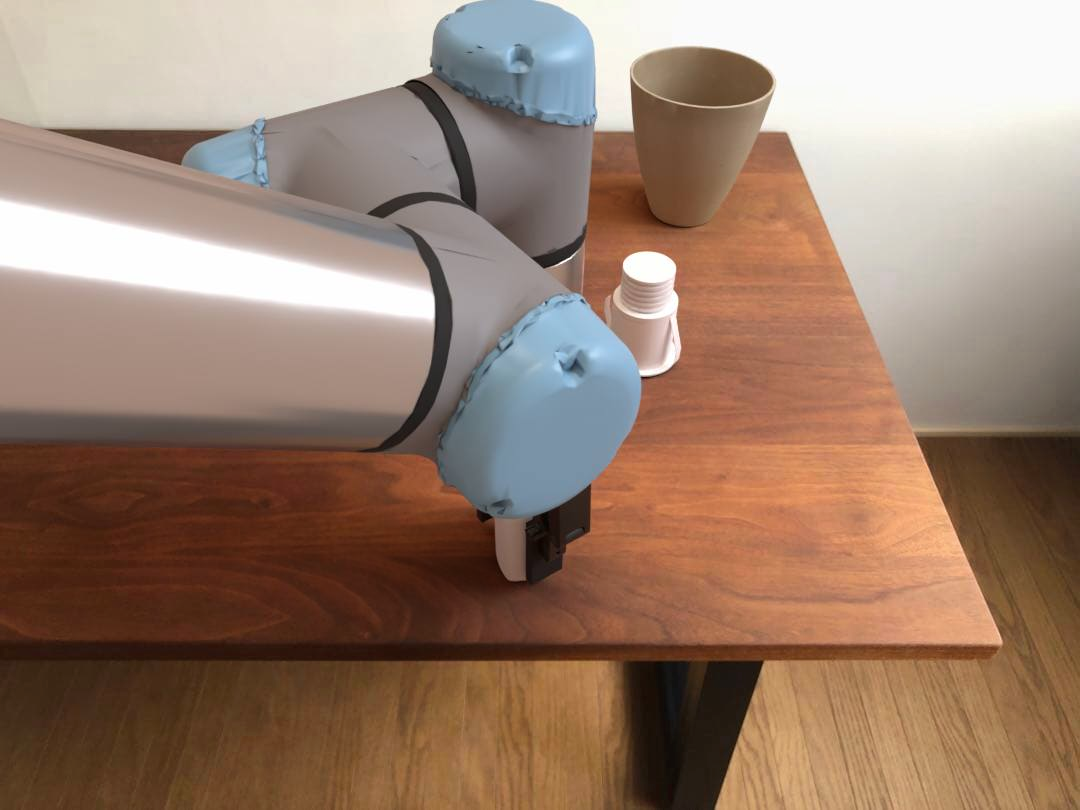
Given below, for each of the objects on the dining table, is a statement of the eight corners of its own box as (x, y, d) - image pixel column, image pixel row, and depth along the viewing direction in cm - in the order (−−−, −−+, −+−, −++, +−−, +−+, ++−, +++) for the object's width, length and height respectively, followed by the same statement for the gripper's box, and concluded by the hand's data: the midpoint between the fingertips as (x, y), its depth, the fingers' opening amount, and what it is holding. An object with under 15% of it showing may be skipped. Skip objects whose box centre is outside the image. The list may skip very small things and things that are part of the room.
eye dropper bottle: (559, 534, 69) (563, 426, 61) (530, 591, 65) (531, 484, 57) (507, 517, 70) (505, 408, 62) (476, 571, 66) (469, 464, 58)
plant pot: (757, 248, 97) (788, 109, 86) (621, 244, 97) (633, 105, 86) (739, 177, 108) (764, 45, 97) (615, 174, 108) (626, 42, 97)
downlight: (583, 355, 84) (588, 268, 77) (624, 318, 88) (632, 232, 81) (655, 392, 81) (667, 304, 74) (694, 351, 85) (709, 265, 78)
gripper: (676, 364, 47) (637, 609, 63) (485, 199, 58) (493, 444, 74) (558, 421, 43) (549, 663, 60) (381, 235, 55) (413, 482, 71)
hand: (518, 541), depth 67 cm, fingers open, 6 cm apart
